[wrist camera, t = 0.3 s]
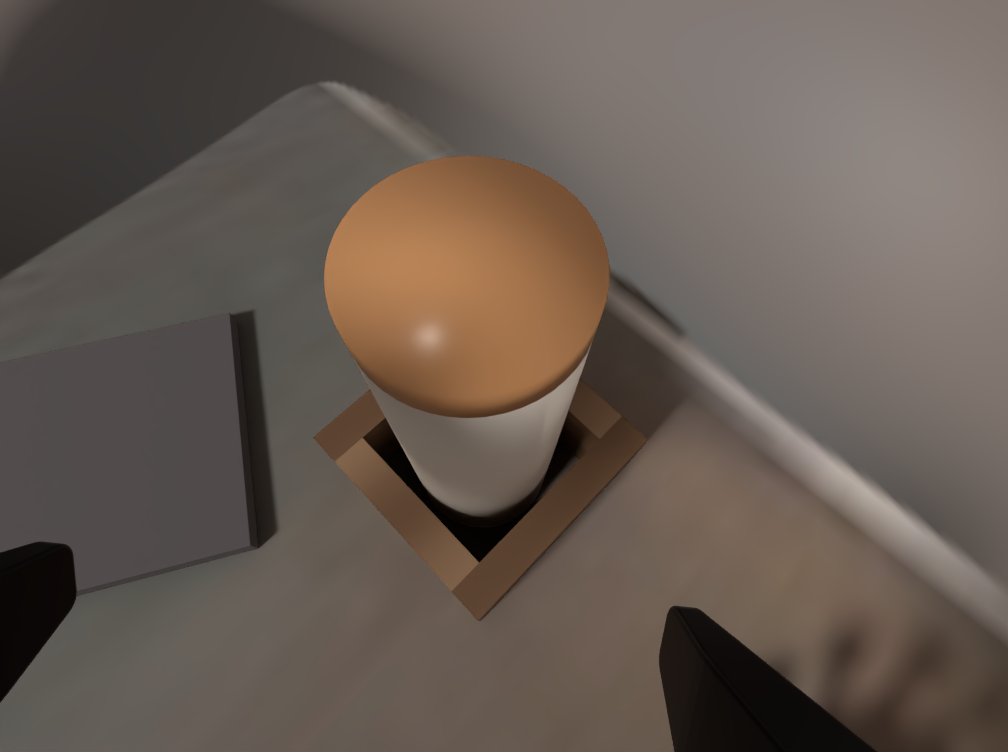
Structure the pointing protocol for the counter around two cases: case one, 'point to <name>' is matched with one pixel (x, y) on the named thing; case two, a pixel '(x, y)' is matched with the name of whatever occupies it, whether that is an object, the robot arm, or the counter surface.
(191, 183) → the counter surface
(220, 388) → the mat
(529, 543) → the socket block
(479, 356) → the plug
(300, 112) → the counter surface
